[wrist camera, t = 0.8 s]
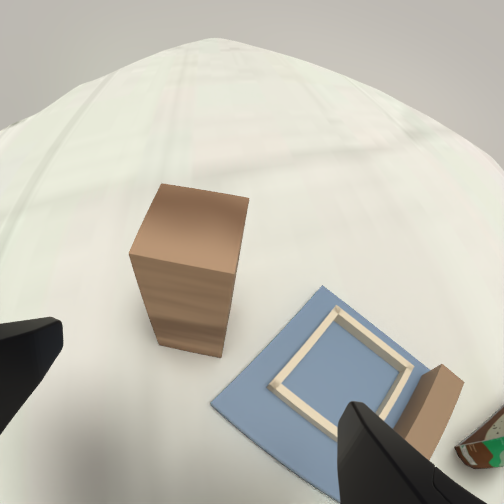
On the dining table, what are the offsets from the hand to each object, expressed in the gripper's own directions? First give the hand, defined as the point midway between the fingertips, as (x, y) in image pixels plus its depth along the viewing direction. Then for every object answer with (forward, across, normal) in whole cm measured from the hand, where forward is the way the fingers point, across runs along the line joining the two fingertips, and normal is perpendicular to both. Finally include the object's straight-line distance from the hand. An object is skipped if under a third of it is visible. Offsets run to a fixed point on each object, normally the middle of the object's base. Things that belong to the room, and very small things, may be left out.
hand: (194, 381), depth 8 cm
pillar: (+16, +3, +6) cm, 17 cm away
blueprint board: (+12, -11, +9) cm, 19 cm away
